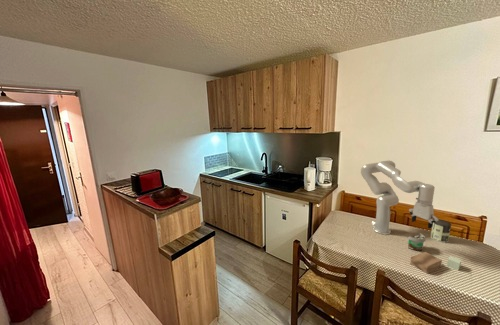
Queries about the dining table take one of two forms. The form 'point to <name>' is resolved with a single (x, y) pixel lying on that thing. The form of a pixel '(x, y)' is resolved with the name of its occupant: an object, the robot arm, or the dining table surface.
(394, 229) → the dining table surface
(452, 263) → the sage block
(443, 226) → the coffee can
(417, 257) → the walnut block
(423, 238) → the food container
